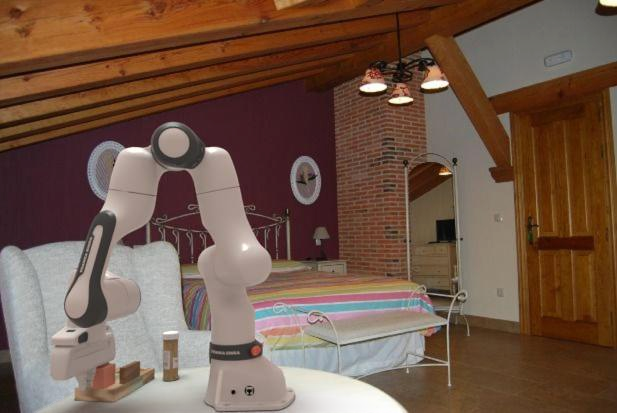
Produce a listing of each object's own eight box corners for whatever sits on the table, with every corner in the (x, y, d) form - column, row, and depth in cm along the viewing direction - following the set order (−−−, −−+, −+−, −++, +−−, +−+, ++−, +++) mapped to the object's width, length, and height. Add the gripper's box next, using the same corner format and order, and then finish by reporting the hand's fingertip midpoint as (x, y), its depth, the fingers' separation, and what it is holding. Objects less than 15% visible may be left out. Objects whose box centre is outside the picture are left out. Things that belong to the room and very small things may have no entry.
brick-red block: (115, 383, 119) (115, 363, 120) (103, 389, 115) (103, 368, 115) (97, 382, 120) (98, 363, 121) (85, 388, 115) (86, 368, 116)
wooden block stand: (154, 378, 133) (154, 354, 134) (114, 401, 114) (114, 373, 114) (120, 377, 135) (120, 353, 136) (74, 400, 116) (75, 371, 116)
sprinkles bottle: (180, 379, 132) (180, 332, 133) (164, 382, 129) (165, 334, 131) (175, 376, 136) (176, 329, 137) (160, 378, 133) (160, 331, 134)
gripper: (100, 323, 123) (99, 376, 122) (45, 339, 103) (43, 402, 102) (122, 323, 122) (121, 376, 121) (70, 339, 102) (69, 403, 101)
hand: (85, 388), depth 112 cm, fingers closed
